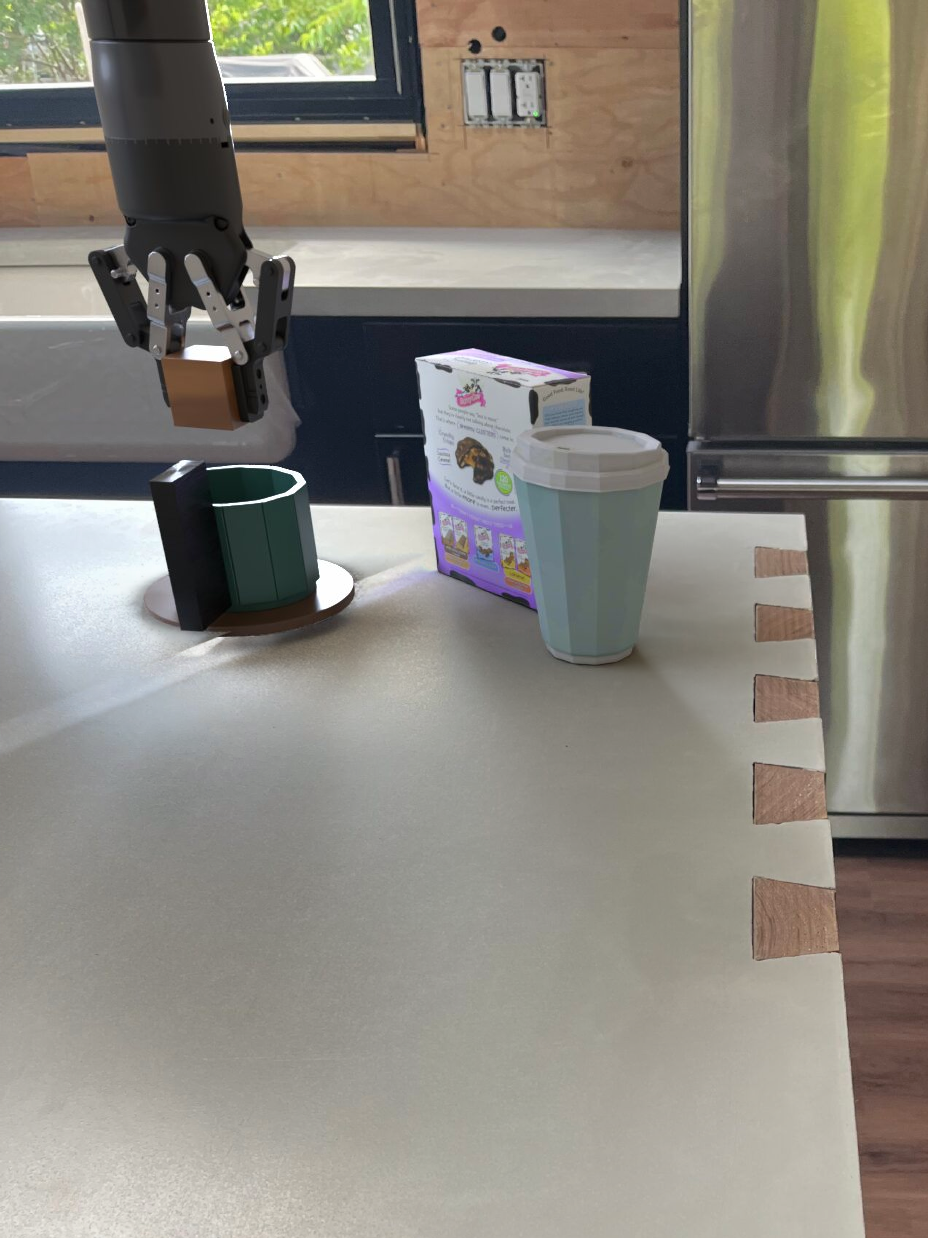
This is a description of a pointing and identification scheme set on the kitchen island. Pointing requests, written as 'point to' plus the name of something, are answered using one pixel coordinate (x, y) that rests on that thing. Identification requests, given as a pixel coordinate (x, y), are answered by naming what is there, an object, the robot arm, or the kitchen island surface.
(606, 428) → the disposable coffee cup
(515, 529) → the candy box
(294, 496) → the cup with saucer
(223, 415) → the block
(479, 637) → the kitchen island surface
